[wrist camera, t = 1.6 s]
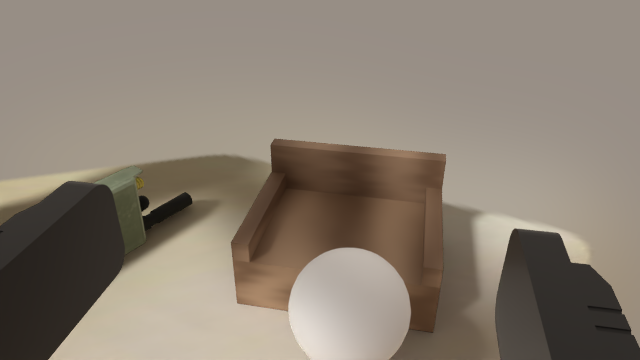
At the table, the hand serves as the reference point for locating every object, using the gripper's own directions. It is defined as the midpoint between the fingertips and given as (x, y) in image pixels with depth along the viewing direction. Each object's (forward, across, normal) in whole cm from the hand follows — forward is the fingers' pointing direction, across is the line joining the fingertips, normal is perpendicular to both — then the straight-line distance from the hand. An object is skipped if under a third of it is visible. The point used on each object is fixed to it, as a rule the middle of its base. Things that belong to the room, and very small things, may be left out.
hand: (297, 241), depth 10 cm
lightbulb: (+11, 0, +20) cm, 23 cm away
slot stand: (+23, +2, +20) cm, 31 cm away
